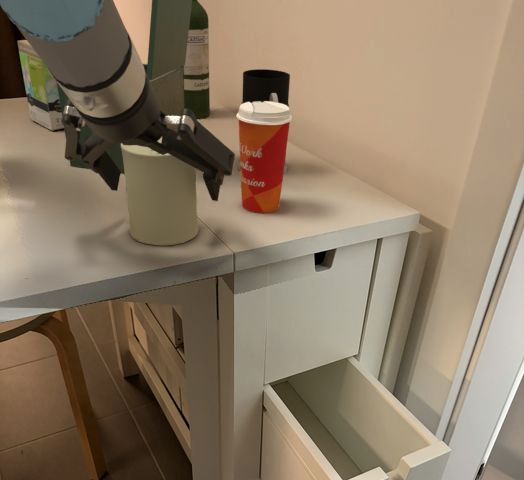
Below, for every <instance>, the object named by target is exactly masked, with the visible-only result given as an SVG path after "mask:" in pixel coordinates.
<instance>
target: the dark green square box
mask: <svg viewBox="0 0 524 480" xmlns="http://www.w3.org/2000/svg"><path fill="white" fill-rule="evenodd" d="M142 64H143V66H144V69H145V71H146V73H147V63H142ZM56 82H57V81H56ZM150 82H151V84H152V86H153V89H154V91H155V94H156V97H157V101H158V105H159V107H160V109H162V110H163V111H164V112H165V113H166V114H167V115H168V116H180V115H181V110H182V109H184V88H183V68H182V67H179V68H177V69H175V70H173V71H170V72H168V73H166V74H164V75H162V76H159V77H157V78H155V79H153V80H150ZM57 88H58V94H59V100H60V106H61V112H62V116H63V112H64V107H65V102H66V100H67V99H69V98H68V96H67V95H66V94H65V92H64V91H63V89H62V88H61V87H60V85H59V84H58V83H57ZM63 129H64V130H63V131H64V135H65V136H64V137H66V136H67V131H66V129H65V127H64V128H63ZM93 133H94V132H93V131H92V130H91V129H90V128H89V127H88V125H87V124H86V123H85V126H82V128H81V131H80V138H79V143H80V144H84V145H85V141H86V136H87V138H89V137H90V136H91V135H92V134H93ZM106 152H107V153H108V155H109V156H110V157H111V159H112V160H113V162H114V163H115V164H116V166H117V167H118V169H119V170H120V171H121V174H125V172H124V164H123V156H122V149H121V143H119V144H116V145H115V146H114V147H113V148H112V149H110V150H108V149H107V150H106ZM81 161H82V160H81V159H77V158H76V159H75V161H69V165H70V167H76V168H82V169H90V170H92V169H91V168H90V167H89V166H88V165H86V164H84V163H82V162H81Z"/></svg>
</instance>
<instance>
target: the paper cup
mask: <svg viewBox="0 0 524 480" xmlns="http://www.w3.org/2000/svg"><path fill="white" fill-rule="evenodd" d="M235 116H236V119H238V138H239V139H238V141H239V142H238V143H239V162H240V171H239V172H240V192H241V193H240V194H241V205H242V208H243V209H244V210H246V211H248V212H251V213H255V214H256V213H257V214H267V213H273V212H275V211H277V210H278V209H279V208H280V203H281V195H282V187H283V179H284V174H285V173H284V165H285V161H286V160H285V156H286V157H287V147H288V140H289V131H290V122H292V121H293V116H292V114H291V109H290V106H289V107H288V106H287V105H284V104H281V103H277V102H269V101H264V102H261V101H258V102H253V103H250V102H246V103H243V104H239V108H238V112H237V113H236V115H235ZM283 173H284V174H283Z"/></svg>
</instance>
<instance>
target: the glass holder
mask: <svg viewBox="0 0 524 480" xmlns="http://www.w3.org/2000/svg"><path fill="white" fill-rule="evenodd" d="M290 81H291V74H290V73H288V72H286V71H282V70H277V69H266V68H263V69H261V68H260V69H259V68H257V69H248V70H244V71H243V72H242V101H241V104H243V103H246V102H250V103H253V102H258V101H261V102H264V101H269V102H277V103H281V104H284V105H287V106H288V107H289V108H290V103H289V99H290V97H289V96H290ZM241 104H240V105H241ZM286 157H287V155H286V156H285V165H284V173H283V175H284V174H286V173H287V172H288V166H287V162H286V160H287V159H286ZM237 170H238V171H239V172H240V161H239V162H238V165H237Z"/></svg>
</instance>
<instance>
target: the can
mask: <svg viewBox="0 0 524 480" xmlns="http://www.w3.org/2000/svg"><path fill="white" fill-rule="evenodd" d="M161 141H162V137H161V138H160V139H159V141H158V142H160V143H161ZM121 149H122V156H123V164H124V172H125V173H124V178H125V180H124V181H125V186H126V187H125V189H126V199H127V208H128V217H129V218H128V219H129V234H130V236H131V238H132V239H134V240H135V241H138V242H140V243H142V244H146V245H151V246H164V247H165V246H175V245H179V244H184V243H186V242H189V241H191V240H193V239H194V238H195V237H196V236H197V235H198V234H199V231H200V228H199V223H198V207H197V203H198V202H197V179H196V178H197V175H196V174H197V172H196V171H197V169H196V168H194V167H192V166H190V165H189V164H187V163H185V162H183V161H181V160H179V159H177V158H176V157H174V156H172V155H170V154H168V153H167V154H165V155H161V154H160V153H158V152H156V151H154V150H152V149H150V148H148V147H142V146H138V145H123V144H122V143H121Z"/></svg>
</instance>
